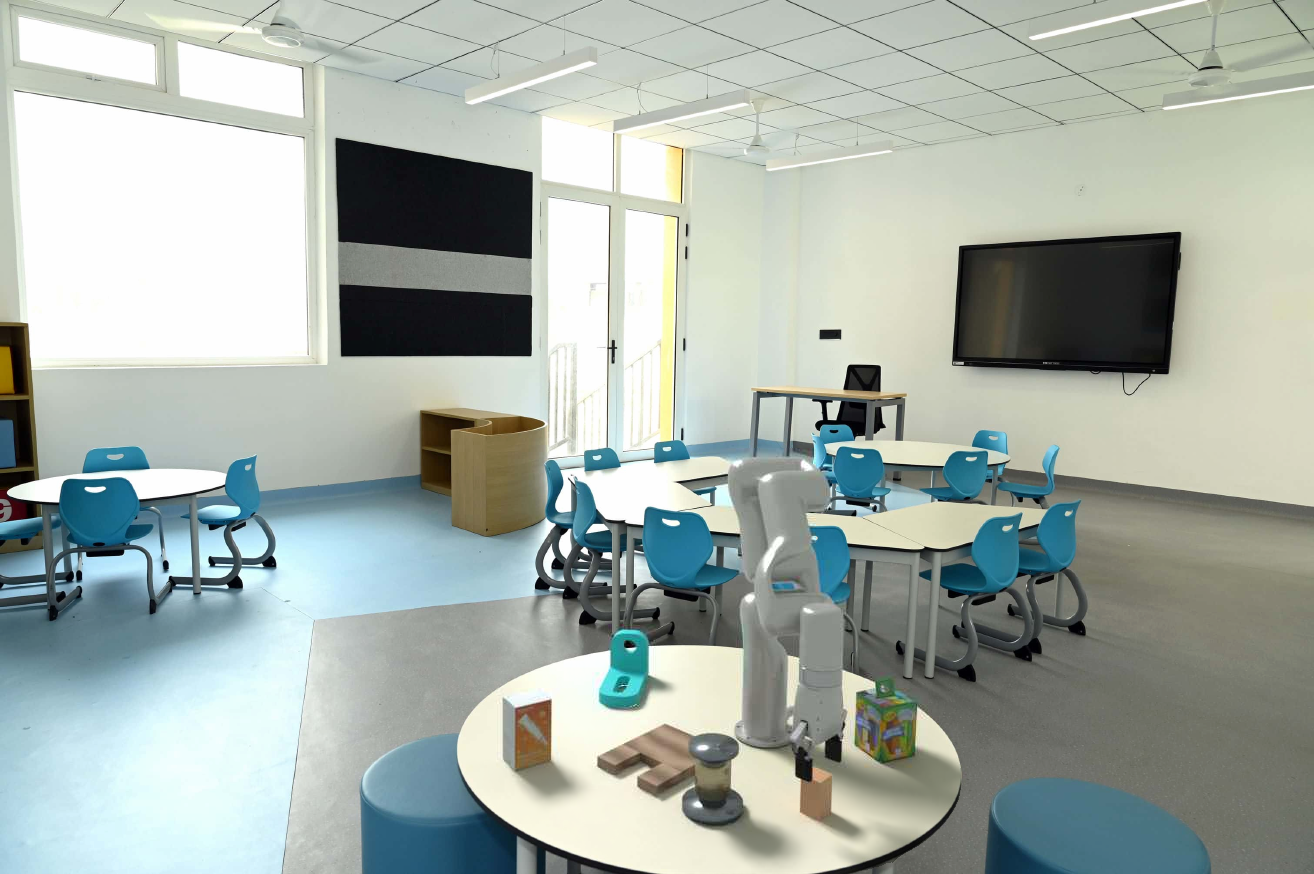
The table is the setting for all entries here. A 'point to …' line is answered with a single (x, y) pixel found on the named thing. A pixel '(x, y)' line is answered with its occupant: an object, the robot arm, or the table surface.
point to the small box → (527, 728)
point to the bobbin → (713, 781)
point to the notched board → (654, 758)
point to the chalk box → (885, 722)
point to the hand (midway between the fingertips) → (818, 769)
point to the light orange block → (816, 795)
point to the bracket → (625, 670)
